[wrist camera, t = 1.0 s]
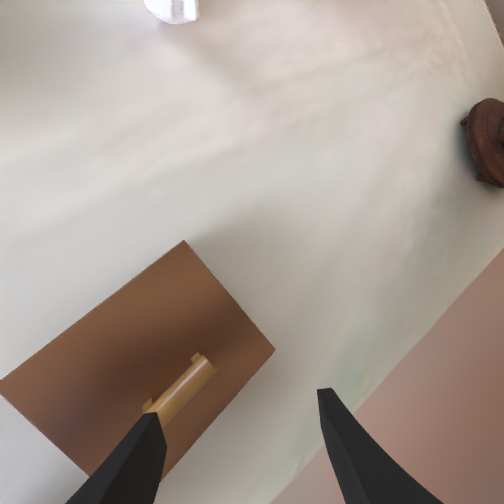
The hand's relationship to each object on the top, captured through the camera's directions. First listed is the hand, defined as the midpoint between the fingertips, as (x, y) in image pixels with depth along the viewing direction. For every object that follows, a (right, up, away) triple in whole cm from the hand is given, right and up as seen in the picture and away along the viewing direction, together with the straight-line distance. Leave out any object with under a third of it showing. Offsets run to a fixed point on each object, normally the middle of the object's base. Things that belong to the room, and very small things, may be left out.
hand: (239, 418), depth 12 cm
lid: (-6, 0, +7) cm, 9 cm away
